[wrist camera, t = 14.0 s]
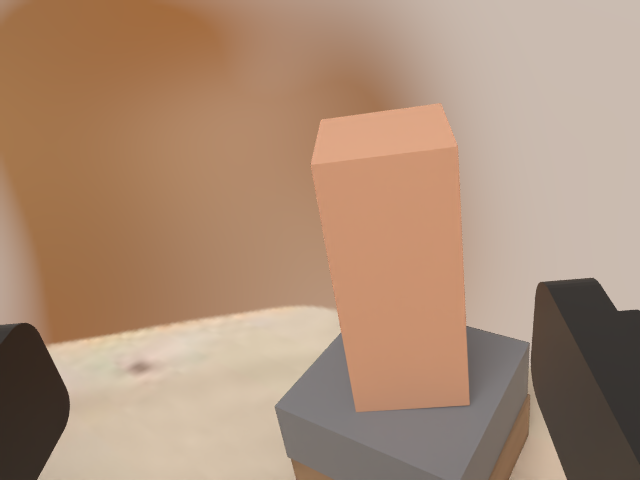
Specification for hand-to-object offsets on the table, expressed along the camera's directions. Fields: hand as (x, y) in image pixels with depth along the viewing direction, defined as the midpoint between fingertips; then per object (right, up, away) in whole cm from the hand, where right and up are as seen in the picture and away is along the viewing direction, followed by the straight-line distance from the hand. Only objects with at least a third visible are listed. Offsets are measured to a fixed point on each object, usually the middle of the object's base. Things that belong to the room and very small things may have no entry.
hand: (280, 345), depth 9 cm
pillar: (+5, -4, +18) cm, 19 cm away
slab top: (+5, -8, +20) cm, 22 cm away
